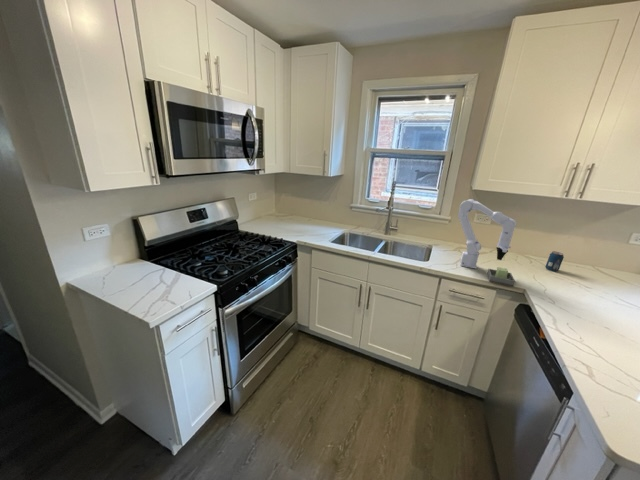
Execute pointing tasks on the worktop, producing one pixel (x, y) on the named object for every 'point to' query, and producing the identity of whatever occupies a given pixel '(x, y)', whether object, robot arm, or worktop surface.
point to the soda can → (554, 261)
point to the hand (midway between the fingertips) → (499, 259)
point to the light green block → (501, 272)
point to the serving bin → (508, 281)
